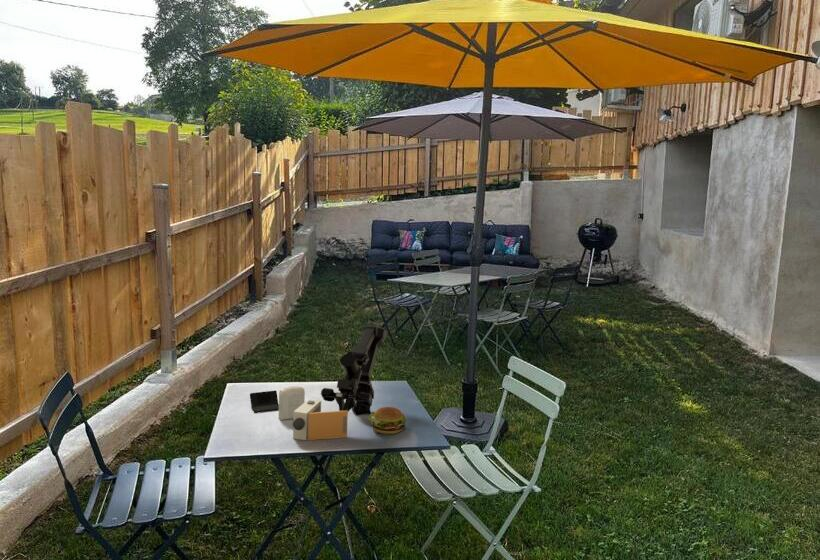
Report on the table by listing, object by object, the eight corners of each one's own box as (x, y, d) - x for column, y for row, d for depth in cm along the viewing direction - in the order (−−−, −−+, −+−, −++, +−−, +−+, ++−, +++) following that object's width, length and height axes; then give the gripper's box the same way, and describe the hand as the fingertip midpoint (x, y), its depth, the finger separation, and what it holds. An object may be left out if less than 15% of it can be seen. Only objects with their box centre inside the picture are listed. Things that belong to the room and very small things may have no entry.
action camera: (308, 424, 235) (308, 397, 233) (320, 425, 234) (321, 398, 232) (291, 439, 220) (291, 411, 218) (304, 441, 219) (305, 413, 217)
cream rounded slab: (301, 413, 246) (301, 383, 244) (305, 416, 242) (306, 386, 241) (276, 417, 240) (277, 387, 238) (281, 421, 237) (281, 390, 235)
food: (364, 423, 239) (365, 403, 237) (400, 421, 242) (401, 401, 241) (372, 437, 226) (372, 416, 224) (409, 434, 229) (410, 414, 228)
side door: (346, 436, 225) (347, 410, 223) (347, 437, 223) (347, 411, 222) (306, 439, 220) (307, 412, 219) (307, 440, 219) (307, 414, 218)
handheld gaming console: (256, 411, 242) (254, 387, 246) (250, 417, 247) (247, 393, 251) (284, 410, 249) (280, 386, 253) (276, 416, 254) (274, 393, 258)
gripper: (323, 366, 229) (311, 405, 220) (371, 372, 225) (361, 411, 216) (330, 381, 238) (318, 418, 229) (376, 386, 234) (367, 425, 225)
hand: (340, 418), depth 224 cm, fingers closed
